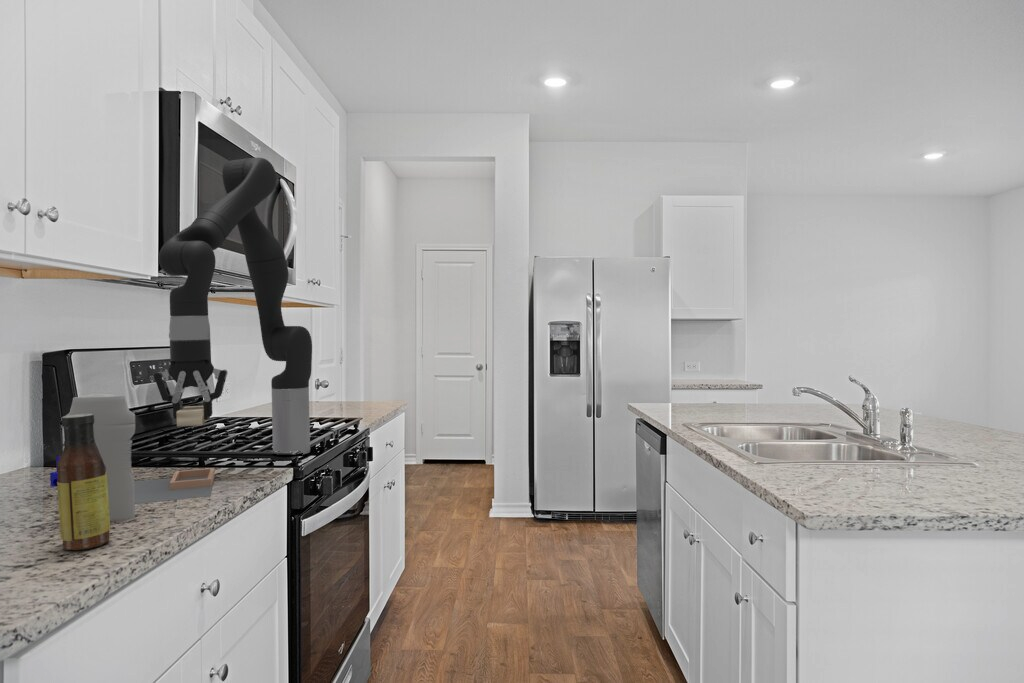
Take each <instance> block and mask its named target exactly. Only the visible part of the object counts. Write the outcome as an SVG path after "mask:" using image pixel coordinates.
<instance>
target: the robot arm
mask: <svg viewBox="0 0 1024 683" xmlns="http://www.w3.org/2000/svg"><path fill="white" fill-rule="evenodd" d="M221 174H222V180H223V182H222V183H223V187H224V191H225V193H226V194H225V195H223V196H222V197H220V198H218V199H216V200H214V201H213V202H212V203H210V204H208V205H207V206H206V207H205V208H204V209H203V210H202V211H201V212H200V213H199V214H198V216H196V218H195V219H194V221H193V222H192V223H191V225H189V226H188V227H186V228H183V229H182V230H181V231H179V232H177V233H176V234H174V235H173V236H171V237H170V238H169V239H168V240H167V241H165V242H164V244H163V245H162V246H161V248H160V250H159V253H158V263H159V266H160V268H161V269H162V271H163V272H164V273H166V274H168V275H171V276H174V277H183V276H187V277H186V280H185V282H184V284H183V285H181V286H178V287H175V288H173V289H171V291H170V292H169V311H170V312H169V328H168V329H169V331H168V332H169V333H168V338H169V356H170V357H169V358H170V365H169V366H168V369H167V370H164V371H159V372H156V373H154V374H153V378H154V380H155V383H156V386H157V389H158V392H159V394H160V396H161V400H162V401H163V402H164V401H165V402H170V403H171V404H172V414H173V418H174V419H175V420H177V414H176V412H177V411H179V410H181V409H182V408H183V402H182V398H183V396H184V395H183V394H184V392H185V389H186V388H191V387H194V388H198V390H199V392H200V393H201V396H202V398H203V403H202V404H203V405H202V406H203V409H204V420H207V421H209V420H208V419H210V417H212V416H213V401H214V400H217V399H218V398H221V397H222V394H223V390H224V387H225V385H226V384H225V383H226V380H227V376H228V370H227V369H218V368H215V367H214V365H213V363H212V350H211V348H212V347H211V344H212V343H211V326H210V324H211V323H210V320H209V302H208V300H209V299H208V297H209V292H210V289H211V285H212V280H213V277H214V274H215V269H216V263H217V262H216V255H215V251H214V250H217V249H219V247H221V245H222V244H223V243H224V242H225V240H226V239H227V238H228V236H229V235H230V234H231V232H232V231H233V230H234V229H235V227H236V226H237V228H238V232H239V233H238V234H239V236H240V239H241V244H242V247H243V251H244V256H245V261H246V266H247V270H248V274H249V278H250V282H251V284H252V288H253V292H254V297H255V301H256V302H255V303H256V306H257V311H258V318H259V327H260V333H261V340H262V345H263V346H262V347H263V349H264V351H265V353H266V356H267V357H268V358H269V359H270V360H272V361H275V362H285V366H284V370H282V372H280V373H279V374H276V375H275V376H273V377H272V378H271V380H270V381H271V416H272V417H271V418H272V419H271V420H272V421H271V422H272V423H271V424H272V428H271V429H272V432H271V433H272V452H273V451H280V452H290V451H297V450H298V451H301V452H302V453H303V454H302V455H305V454H309V453H310V452H311V437H310V436H311V433H310V432H311V429H310V427H311V426H310V425H311V424H310V420H311V419H310V379H311V376H312V364H313V363H312V360H313V357H312V356H313V341H312V336H311V334H310V333H311V332H310V331H309V330H308V329H307V328H306V327H305V326H301V325H285V322H284V318H283V313H282V302H283V297H284V296H285V292H286V290H287V289H286V288H287V286H288V281H289V276H290V275H289V268H288V264H287V258H286V254H285V250H284V248H283V246H282V245H281V243H280V242H279V241H278V239H277V238H276V236H275V235H273V233H272V232H271V231H270V230H269V229H268V228H267V227H266V225H265V224H264V223H263V221H262V219H261V218H260V216H259V215H258V212H257V210H256V207H257V206H258V205H259V204H260V203H261V202H263V201H264V200H265V199H267V198H268V197H269V196H270V195H271V194H272V193H274V191H275V189H276V187H277V182H278V179H277V173H276V169H275V168H274V166H273V164H272V163H271V161H269V160H268V159H266V158H264V157H248V158H247V157H246V158H239V159H232V160H228V161H227V162H225V163H224V164H223V167H222V172H221ZM213 374H214V379H215V380H216V385H215V388H214V391H213V392H212V393H211V390H210V386H209V384H208V380H209V379H210V377H211V376H212V375H213ZM169 376H170V377H171V378H172V379H173V381H175V383H176V385H175V388H174V390H173V391H174V392H173V394H171V391H170V389H169V386H168V383H167V381H168V380H169Z"/></svg>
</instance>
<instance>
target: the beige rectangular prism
mask: <svg viewBox="0 0 1024 683" xmlns="http://www.w3.org/2000/svg"><path fill="white" fill-rule="evenodd" d="M176 414H177V419H176V427H177V428H178V427H190V426H191V427H193V426H195V427H196V426H203V425H204V424H206V422H207V421H209V419H210V418H209V419H208V420H204V409H203V405H192V406H190V405H189V406H183V407H182V409H181V410H179V411H177V412H176Z"/></svg>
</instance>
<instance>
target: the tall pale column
mask: <svg viewBox="0 0 1024 683" xmlns="http://www.w3.org/2000/svg"><path fill="white" fill-rule="evenodd" d="M126 400H127V398H126V396H125V395H116V394H109V393H99V392H98V393H93V394H87V395H83V396H75V397H72V402H71V406H70V410H69V413H67V414H66V415H65V416H68V415H75V414H93V415H94V420H95V422H94V424H93V428H94V439H95V443H96V445H97V448H98V450H99V452H100V455H101V457H102V460H103V462H104V464H105V466H106V473H107V487H108V500H109V514H110V523H111V522H117V521H125V520H130V519H131V520H132V519H135V518H136V511H135V510H136V508H135V505H136V504H135V495H134V481H135V478H134V476H133V473H132V470H131V468H132V467H133V466H132V444H133V440H132V437H133V436H134V435H135V433H136V414H135V413H134V412H133V411H131V410H130V409H129V406H128V403H127V401H126Z"/></svg>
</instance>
